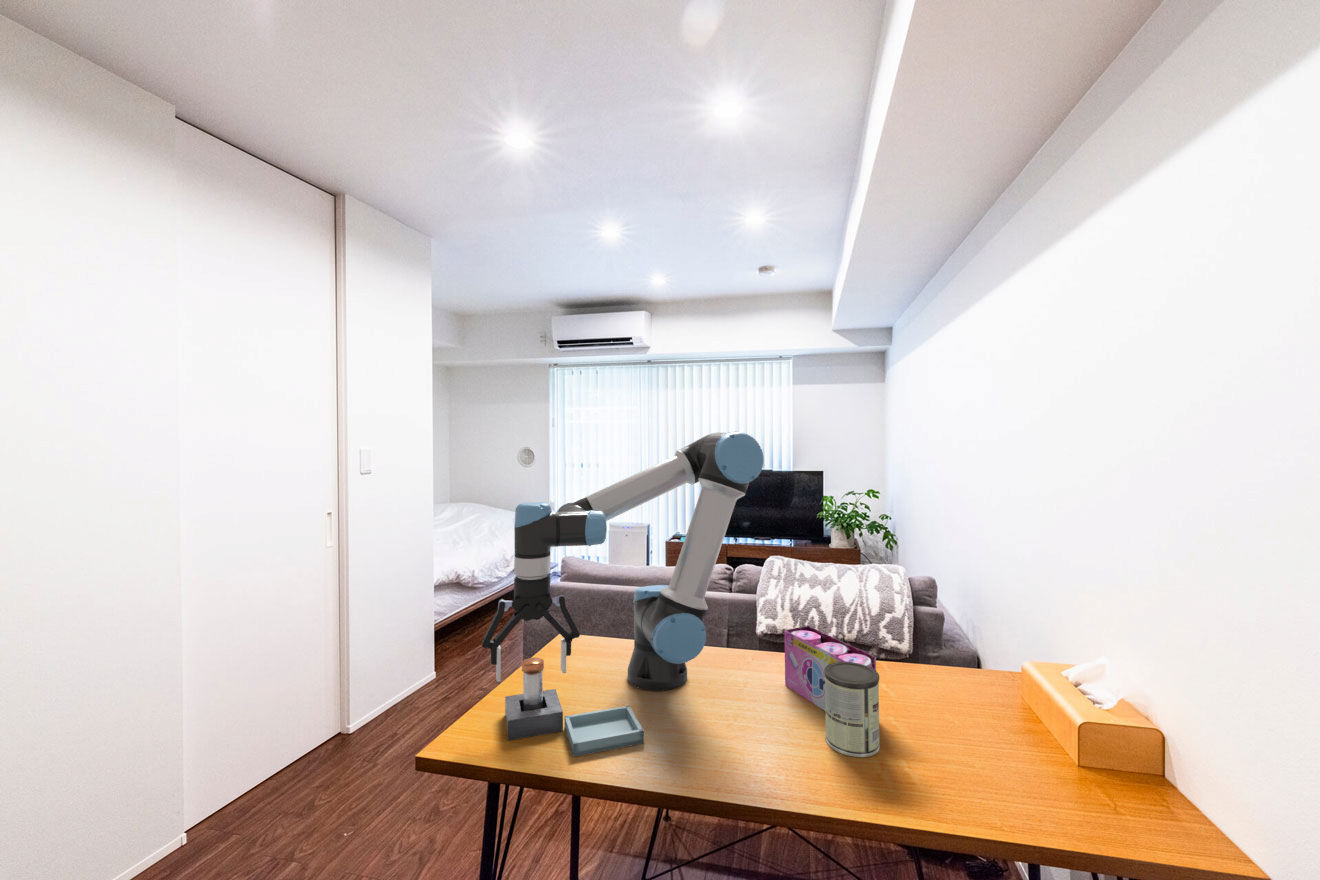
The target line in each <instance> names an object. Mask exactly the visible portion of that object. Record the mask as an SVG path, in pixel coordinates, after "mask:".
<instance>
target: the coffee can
mask: <svg viewBox="0 0 1320 880" xmlns="http://www.w3.org/2000/svg"><path fill="white" fill-rule="evenodd" d="M824 673H825V711H824V712H825V742H826V745H828V746H829V747H830V749H832V750H833V751H835V752H837V753H838V754H842V755H844V756H848V757H853V758H868V757H872V756H874V755H876V754H878V753H879V751H880V750H881V749H880V748H881V745H880V695H879V694H880V692H879V689H880V688H879V687H880V686H879V683H880V674H879V673H878V672H877V670H876V671H875V670H874V669H872V668H870V667H868V666H865V665H862V664H858V663H852V662H836V663H831V664H829V665H827V666H826V667H825V669H824Z"/></svg>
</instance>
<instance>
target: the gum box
mask: <svg viewBox="0 0 1320 880" xmlns="http://www.w3.org/2000/svg"><path fill="white" fill-rule="evenodd" d="M836 662H852V663H858V664H862V665H865V666H868V667H870V668H872V669H874V670H875V671H877V657H876V656H874V655H872V654H870V653H868V652H867V651H864V650H863V649H860V648H857V647H855V646H853V645H851V644H849V643H846V642H844V641H841V640H839V639H837V638H835V637H833V636H831V635H829V634H826V633H824V632H822V631H821V630H818V629H816V628H814V627H812V626H810V625H806V626H799V627H793V628H789V629H784V685H785V686H787V687H788V688H790V689H791V690H792V691H794V692H795V693H797V694H798V695H800V696H801V697H803V698H804V699H806V700H807V701H808V702H810V703H811V704H813V705H816V706H817V708H819V709H820V710H822V711H824V712H826V711H825V673H824V669H825V667H826V666H827V665H829V664H831V663H836Z"/></svg>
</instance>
